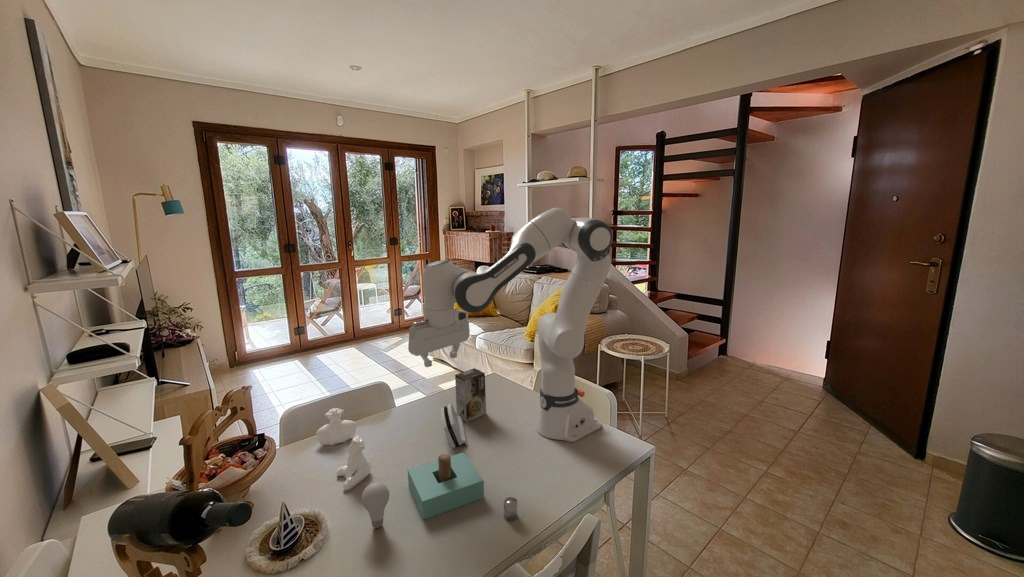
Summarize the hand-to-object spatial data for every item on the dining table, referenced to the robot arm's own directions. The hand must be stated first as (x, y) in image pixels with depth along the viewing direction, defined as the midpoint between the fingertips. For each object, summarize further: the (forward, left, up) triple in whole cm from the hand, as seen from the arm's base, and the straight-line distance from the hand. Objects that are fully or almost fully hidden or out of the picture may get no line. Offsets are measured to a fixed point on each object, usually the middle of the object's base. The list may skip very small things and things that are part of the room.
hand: (441, 361), depth 120 cm
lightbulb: (+24, +22, -29) cm, 44 cm away
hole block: (+6, +18, -29) cm, 35 cm away
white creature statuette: (+26, 0, -29) cm, 39 cm away
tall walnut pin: (+6, +18, -29) cm, 35 cm away
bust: (+29, -23, -29) cm, 47 cm away
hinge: (-6, -8, -30) cm, 31 cm away
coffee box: (-16, -17, -29) cm, 37 cm away
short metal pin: (-5, +34, -29) cm, 45 cm away
